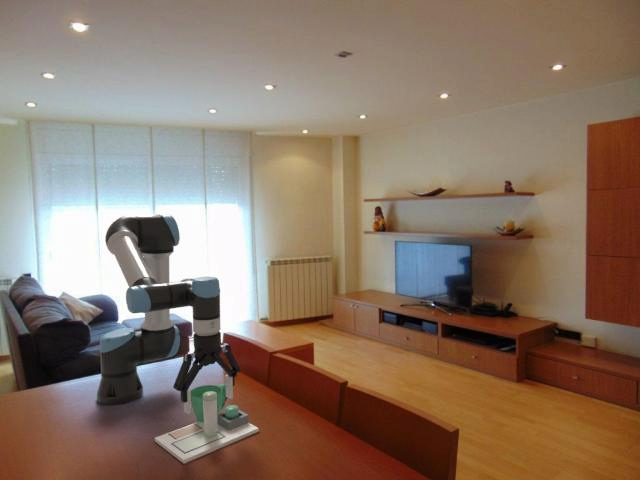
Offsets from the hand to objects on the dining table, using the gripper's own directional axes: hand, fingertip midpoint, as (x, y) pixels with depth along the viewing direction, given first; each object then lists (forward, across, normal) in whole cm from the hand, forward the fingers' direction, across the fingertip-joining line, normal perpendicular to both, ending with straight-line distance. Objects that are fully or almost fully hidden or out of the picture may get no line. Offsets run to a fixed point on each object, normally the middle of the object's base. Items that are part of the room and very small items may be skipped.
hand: (209, 404), depth 133 cm
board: (+10, 0, +1) cm, 10 cm away
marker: (+9, 0, -1) cm, 9 cm away
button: (+7, +8, +1) cm, 11 cm away
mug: (+11, +7, +11) cm, 17 cm away
